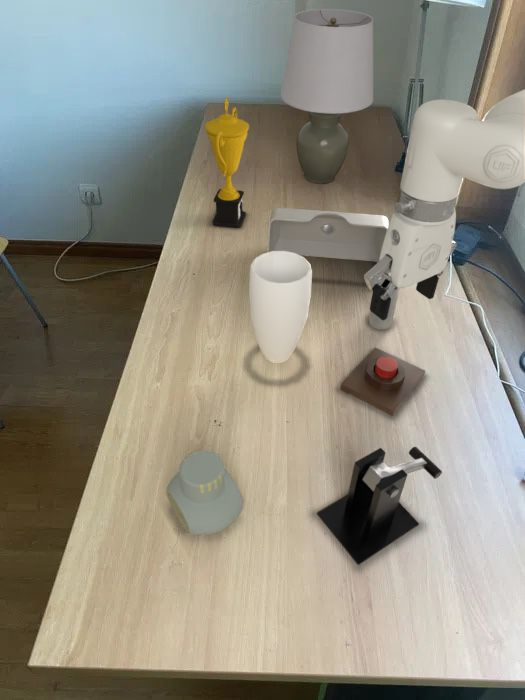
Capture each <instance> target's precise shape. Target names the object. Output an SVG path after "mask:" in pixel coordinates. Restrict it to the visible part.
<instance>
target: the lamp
mask: <svg viewBox="0 0 525 700" xmlns="http://www.w3.org/2000/svg"><path fill="white" fill-rule="evenodd" d="M284 67H285V68H284V72H283V78H282V83H281V89H280V93H279V94H280V99H281V100H282V102H283V103H285V104H286V105H288V106H289V107H292V108H295V109H297V110H301V111H305V112H307V113H308V116H309V121H308V122H306V123H305V124H304V125H303V126H302V127H301V129H300V130H299V132H298V134H297V136H296V142H295V143H296V144H295V145H296V155H297V159H298V162H299V165H300V168H301V171H302V172H303V177H304V179H305V180H306V181H307V182H309V183H313V184H317V185H318V184H319V185H320V184H321V185H324V184H329V183H332V182H333V181H335V179H336V176H337V174H338V173H339V171H340V170H341V168H342V166H343V164H344V162H345V159H346V157H347V153H348V151H349V143H350V141H349V140H350V139H349V135H348V132H347V130H346V129H345V127H344V125H342V124H340V123H339V121H340V119H341V117H342V115H343V114H349V113H355V112H359V111H362V110H364V109H367V108H368V107H370V106H371V105H372V104H373V102H374V18H373V16H371V15H369V14H367V13H363V12H360V11H355V10H349V9H340V8H314V9H307V10H303V11H299V12H297V13H295V14H294V15H293V22H292V28H291V34H290V40H289V45H288V50H287V55H286V62H285V66H284Z"/></svg>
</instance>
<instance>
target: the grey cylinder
mask: <svg viewBox="0 0 525 700" xmlns="http://www.w3.org/2000/svg"><path fill="white" fill-rule="evenodd" d="M389 283H390V281H389V280H387V279H385V280H384V282H383V283H382V284H381V287H382V288H383V289H384V290H385V288H386V287H387V286H388V284H389ZM400 289H401V288H398V287H395V289H394V290H393V291H392V293H391V294H390V296H389V297H390V298H391V303H390V307H389V312H388V316H387V319H386V320H381V319H380V318H379V317H378V316H376V315H375V314H374V313H372V312H371V311H370V310H369V316H368V325H370V326H371V327H373V328H375V329H377V330H386V329H390V328H391V326H392V325H393V324H392V323H393V320H394V315H395V310H396V305H397V301H398V297H399V293H400Z"/></svg>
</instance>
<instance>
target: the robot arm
mask: <svg viewBox="0 0 525 700" xmlns="http://www.w3.org/2000/svg"><path fill="white" fill-rule="evenodd" d="M407 144H408V145H407V150H406V155H405V158H404V159H405V160H404V165H403V170H402V175H401V179H400V185H399V190H398V195H397V199H396V203H395V205H394V210H395V211H393V213H392V215H391V218H390V220H389V222H388V225H389V226H388V229H387V232H386V235H385V238H384V242H383V245H382V249H381V254H380V258H379V262H376V264H375V265H373V266H372V267H371V268H369V270H368V271H366V272H365V273H364V274H363V279H364V281H365V285H366V288H368V289H369V290H370V291H371V292H372V294H371V298H370V299H371V300H370V304H369V312H370V311H371V312H372V313H374V314H375V315H376V316H378V317H379V318H380V319H381V320H386V319H387V316H388V312H389V307H390V303H391V298H390V297H389V296H390V294H391V293H392V291H393V290H394V289H395V287H398V288H400V289H406V288H408V287H410V286H413V285H416V287H415V290H416V291H417V292H418V293H419V294H421V295H422V296H423V297H425V298H426V299H428V300H431V299H433V298H434V297H435V294H436V290H437V287H438V283H439V279H440V277H441V276H442V275H443V274H444V270H445V269H446V268H447V265H448V263H449V262H450V260H451V256H452V255H453V253H454V251H455V250H456V248H457V245H458V243H457V242H455V241H454V236H455V230H456V221H457V209H456V206H457V202H458V199H459V194H460V192H461V187H462V184H463V180H464V179H467V180H470V181H472V182H474V183H476V184H480V185H482V186H485V187H489V188H491V189H497V190H510V189H514V188H518V187H520V186H522V185H523V184H525V88H523V89H522V90H520V91H517V92H515V93H513V94H511V95H508V96H507V97H505V98H502V99H501V100H500V101H498V102H497V103H496V104H494V105H493V106H492V107H491V108H490V109H489V110H488V111H487V112H486V113H485V115H484V116H483V118H482V120H480V119H479V115H478V112H477V111H476V110H475V109H474V107H472V106H471V105H469V104H467V103H464V102H461V101H457V100H452V99H433V100H429V101H425V102H424V103H422V104H421V105H420V106H419V107H418V108H417V109H416V111H415V113H414V116H413V120H412V125H411V130H410V135H409V140H408V143H407ZM389 274H390V275H389ZM385 279H387V280H389V281H390V283H389V284H388V286H387V287H386V288H385V290H384V289H383V288H382V287H381V284H382V283H383V282H384V280H385Z"/></svg>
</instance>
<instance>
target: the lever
mask: <svg viewBox="0 0 525 700" xmlns="http://www.w3.org/2000/svg"><path fill="white" fill-rule="evenodd" d="M408 454H409V456H410V457H411V458H412V459H413V460H409V461H406V462H403V463H400V464H396V465H394V466H393V465H392V466H388V465H387V464H386V463H385V462H384V461H383V463H380V464H376V465H373V466H370V467H369V469H368V471H367V472H366V474H365V476H364V478H363V481H364V482H365V483H366V484H367V485H368V486H369V487H370V488H371V489H372V491H374V490H375V487H376V485H377V484H378V483H380V482H382V481H383V480H385V479H387V478H388V477H390V476H392V475H393V474H395V473H397V472H398V471H400V470H402V469H403V470H404V471H405V472H406V473H407V475H408V474H411V473H415V472H417V471H420V470H425V471H426V472H427V473H428V474H429V475H430V477H432V478H433V479H438V478H439V477H440V476H442V473H443V471H442V469H440V468H439V467H438V466H437V465H436V464H435V463H434V462H433V461H432V460H431V459H430V458H429V457H427V456H426V454H424V452H423V451H421V449H419V448H418V447H417V446H413V447H411V448H410V449H409V451H408Z"/></svg>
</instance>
